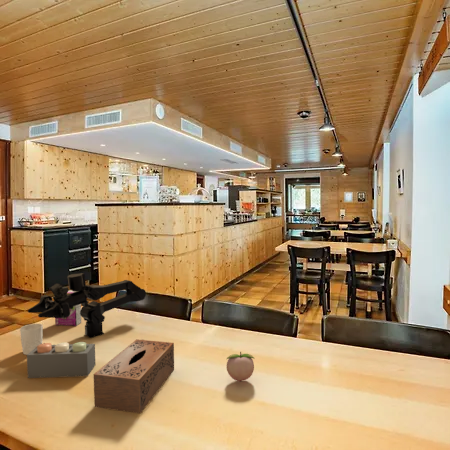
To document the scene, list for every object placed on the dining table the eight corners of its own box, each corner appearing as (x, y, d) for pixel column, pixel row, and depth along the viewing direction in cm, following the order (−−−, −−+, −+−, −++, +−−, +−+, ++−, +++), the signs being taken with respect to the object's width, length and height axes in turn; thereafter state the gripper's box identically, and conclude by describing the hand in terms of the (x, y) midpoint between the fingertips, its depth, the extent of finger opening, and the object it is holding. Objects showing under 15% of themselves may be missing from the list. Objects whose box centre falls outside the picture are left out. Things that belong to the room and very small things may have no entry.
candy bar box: (54, 325, 164) (53, 292, 163) (60, 322, 169) (59, 289, 168) (76, 326, 163) (75, 292, 162) (82, 322, 168) (80, 290, 167)
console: (39, 366, 123) (38, 345, 122) (95, 364, 124) (94, 343, 123) (27, 377, 115) (26, 355, 114) (87, 376, 116) (87, 353, 115)
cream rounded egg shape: (58, 354, 121) (58, 342, 121) (71, 354, 121) (70, 342, 121) (53, 360, 117) (52, 347, 116) (66, 360, 117) (65, 347, 116)
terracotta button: (41, 355, 121) (41, 343, 120) (54, 354, 121) (53, 342, 121) (35, 361, 116) (34, 348, 116) (48, 360, 116) (47, 347, 116)
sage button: (75, 354, 121) (75, 342, 121) (88, 353, 121) (87, 341, 121) (70, 360, 117) (70, 347, 117) (83, 359, 117) (83, 347, 117)
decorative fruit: (231, 390, 106) (230, 359, 106) (224, 377, 114) (223, 348, 113) (258, 386, 109) (258, 355, 108) (250, 373, 117) (250, 345, 116)
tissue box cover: (137, 366, 123) (136, 339, 123) (174, 370, 120) (173, 342, 119) (94, 407, 98) (93, 374, 98) (139, 414, 95) (139, 379, 94)
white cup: (26, 357, 130) (25, 332, 129) (17, 352, 135) (16, 327, 134) (47, 350, 136) (46, 326, 136) (38, 345, 141) (37, 322, 140)
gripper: (58, 278, 148) (19, 290, 136) (80, 285, 137) (40, 298, 125) (62, 303, 150) (24, 316, 138) (84, 311, 138) (45, 326, 126)
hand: (33, 313), depth 132 cm, fingers open, 9 cm apart
